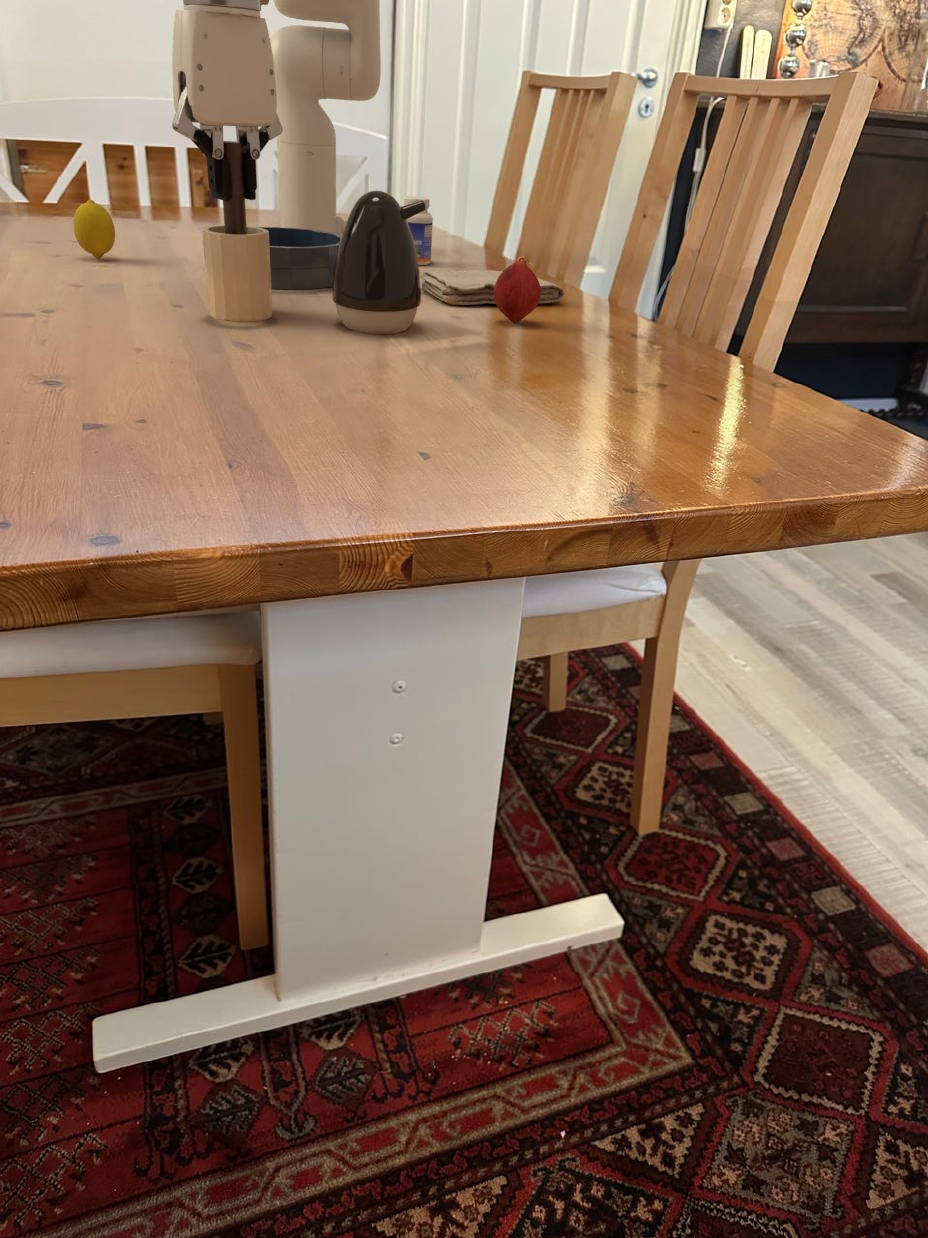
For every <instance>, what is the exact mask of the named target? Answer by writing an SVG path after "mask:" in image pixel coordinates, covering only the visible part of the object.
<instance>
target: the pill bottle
mask: <svg viewBox="0 0 928 1238" xmlns="http://www.w3.org/2000/svg"><path fill="white" fill-rule="evenodd" d="M421 200H422V201H424V203H425V206H426V209H425V210H424V211H422V212H420V213H418V214H416V215H414V216H412V217H411V218H409V219H407V222H408V225H409V228H410V231H411V234H412V237H413V241H414V245H415V249H416V254H417V259H418V265H419V266H427V265H429V264H430V263H431V259H432V243H433V242H432V241H433V223H434V218H433V215H432V214H431V213H430V212H429V211H428V209H429V208H430V198H429V197H425V196H416V195H414V196H412V195H408V196H404V198H403V206H405V205H409V204H412V203H415V202H418V201H421Z"/></svg>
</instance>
